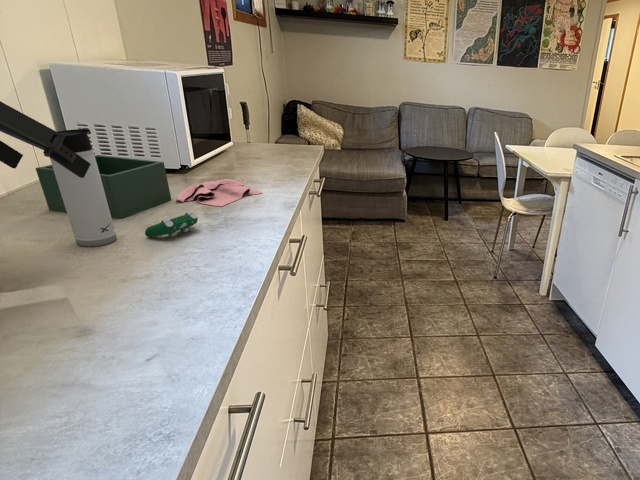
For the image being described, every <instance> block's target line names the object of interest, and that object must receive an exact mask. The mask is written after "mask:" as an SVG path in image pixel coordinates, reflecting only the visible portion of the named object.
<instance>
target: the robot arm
mask: <svg viewBox="0 0 640 480" xmlns="http://www.w3.org/2000/svg"><path fill="white" fill-rule="evenodd" d="M0 132H1V133H3V134H6V135H8V136H10V137H12V138H14V139H17V140H19V141H21V142H24V143H26V144H28V145H30V146H33V147H35V148H37V149H40V150H41V151H43V152H42V154H43V156H44V157H48V158H49V159H50V158H51V159H53V160H54V161H56V162H57V163H59V164H60V165H62V166H63V167H65V168H66V169H68V170H69V171H71V172H72V173H74V174H75V175H77V176H78V177H80V178H84V177H85V175H86V173H87V171H88V169H89V167H90V165H91V164H90V163H89V162H87V161H86V160H85V159H83V158H82V157H80V156H79V155H78V154H76V153H75V152H73V151H72V150H71V149H69V148H68V147H66V146H65V145H64V144H62V142H63V140H64V138H65V137H64V136H63V135H62V134H60V133H58V131H56V130H55V129H53V128H50V127H49V126H47V125H45V124H44V123H41V122H40V121H38V120H36V119H34V118H32V117H30V116H28V115H27V114H25V113H23V112H21V111H20V110H17V109H15V108H13V107H12V106H10V105H8V104H7V103H4V102H3V101H1V100H0ZM23 157H24V154H23V153H21V152H20V151H18V150H16V149H14V148H13V147H11V146H10V145H9V144H7V143H5V142H4V141H2V140H0V163H3V164H4V165H6V166H8V167H9V168H11V169H17V167H18V165H19V163H21V160H22V159H23Z"/></svg>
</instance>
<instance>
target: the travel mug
mask: <svg viewBox="0 0 640 480" xmlns="http://www.w3.org/2000/svg"><path fill="white" fill-rule="evenodd" d="M57 132H58V133H60V134H62V135H63V136H64V137H65V138H64V140H63V142H62V144H64V145H65V146H66V147H68V148H69V149H71V150H72V151H73V152H75V153H76V154H78V155H79V156H80V157H82V158H83V159H85V160H86V161H87V162H89V163H90V164H91V165H90V167H89V169H88V171H87V173H86V175H85V177H84V178H80V177H78V176H77V175H75V174H74V173H72V172H71V171H69V170H68V169H66V168H65V167H63V166H62V165H60V164H59V163H57V162H56V161H54V160H53V159H51V158H50V157H49V160H50V163H51V165H52V167H53V170H54V173H55V176H56V179H57V183H58V186H59V189H60V192H61V195H62V199H63V202H64V205H65V208H66V211H67V212H66V215H67V218H68V220H69V224H70V227H71V230H72V233H73V234H72V235H74V240H75V243H76V244H77V245H79V246H82V247H100V246H104V245H108V244H112V243H113V242H115V241H116V240H117V238H118V237H117V234H116V230H115V226H114V222H113V218H111V214H110V211H109V207H108V203H107V200H106V196H105V192H104V188H103V185H102V181H101V177H100V174H99V170H98V166H97V163H96V159H95V153H94V148H93V146H92V144H91V139H90V137H89V135H91V134H92V132H91V130H90V128H89V127H84V128H79V129H78V128H77V129H65V130H58V131H57Z"/></svg>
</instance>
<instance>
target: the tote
mask: <svg viewBox="0 0 640 480" xmlns="http://www.w3.org/2000/svg"><path fill="white" fill-rule="evenodd" d="M94 155H95V154H94ZM95 159H96V163H97V166H98V170H99V174H100V177H101V181H102V185H103V188H104V192H105V196H106V200H107V203H108V207H109V211H110V214H111V218H112V219H118V220H122V219H124V218H127V217H130V216H132V215H136V214H138V213H141V212H143V211H146V210H148V209H151V208H153V207H156V206H159V205H161V204H164V203H167V202H170V201H172V196H171V191H170V186H169V182H168V176H167V172H166V166H165V162H164V161H157V160H149V159H139V158H131V157H130V158H129V157H121V156H120V157H119V156H113V155H112V156H111V155H103V154H102V155H101V154H96V155H95ZM35 171H36V174H37V177H38V181H39V183H40V187H41V190H42V193H43V195H44V196H43V197H44V199H45V201H46V204H47V208H48V210H49V211H51V212H52V211H54V212H60V213H61V212H62V213H67V211H66V208H65V205H64V202H63V199H62V195H61V192H60V189H59V186H58V183H57V179H56V176H55V173H54V170H53V167H52V164H48V165H44V166H39V167H35Z"/></svg>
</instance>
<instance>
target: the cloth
mask: <svg viewBox="0 0 640 480" xmlns="http://www.w3.org/2000/svg"><path fill="white" fill-rule="evenodd" d="M261 194H263V192H262V191H260V190H257V189H255V188H251V187H248V186H245V185H244V183H242V182H240V181H237V180H234V179H230V178H225V179H217V180H211V181H210V180H209V181H206V182H201V183H198V184H195V185H191V186H187V187H186V188H184V190H182V191H181V192H180V193H179V194H178V195H177V197H176V198H175V202H176V203H177V202H178V203H185V202H191V201H194V200H195V198H196V201H197V202H198V203H199V204H201V205H207V206H214V207H219V208H222V207H226V206H227V205H229V204H232V203H234V202H236V201H238V200H240V199H242V198H243V197H247V196H255V195H261Z"/></svg>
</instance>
